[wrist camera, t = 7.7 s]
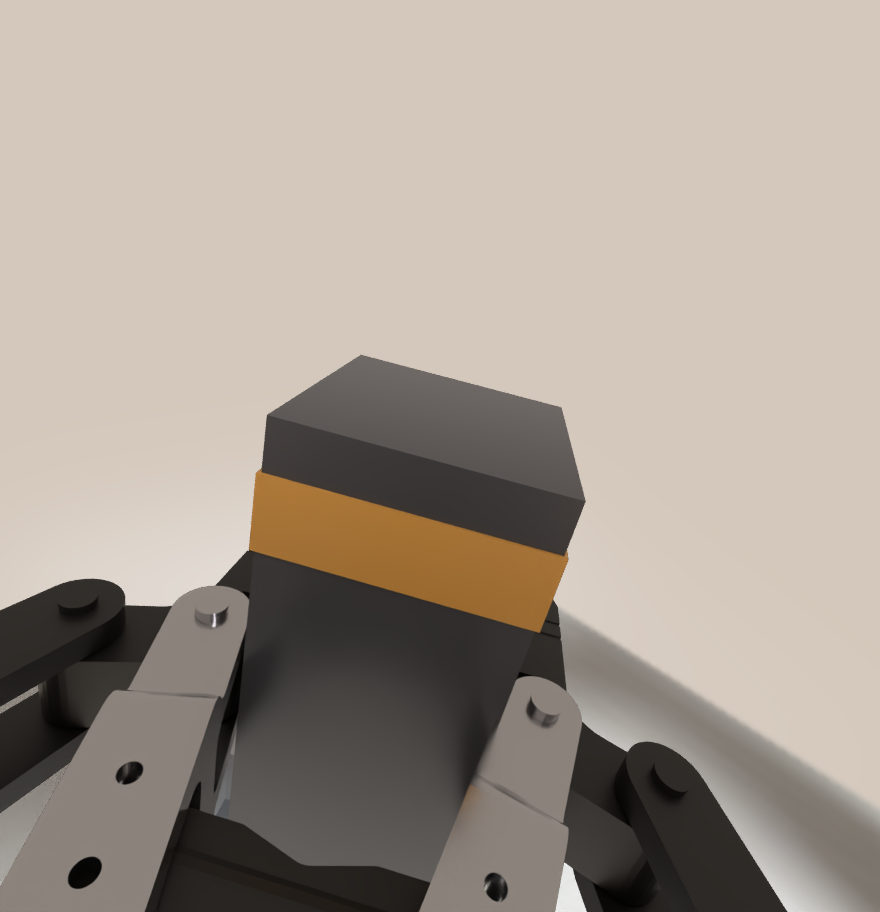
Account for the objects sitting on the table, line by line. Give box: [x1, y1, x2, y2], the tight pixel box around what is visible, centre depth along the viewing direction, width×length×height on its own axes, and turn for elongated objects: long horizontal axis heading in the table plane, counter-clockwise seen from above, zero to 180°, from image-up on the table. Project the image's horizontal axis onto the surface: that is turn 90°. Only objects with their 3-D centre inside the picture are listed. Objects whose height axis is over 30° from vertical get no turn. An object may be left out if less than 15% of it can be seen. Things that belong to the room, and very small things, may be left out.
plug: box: [228, 355, 585, 883], centre depth 10 cm, size 4×4×12 cm
